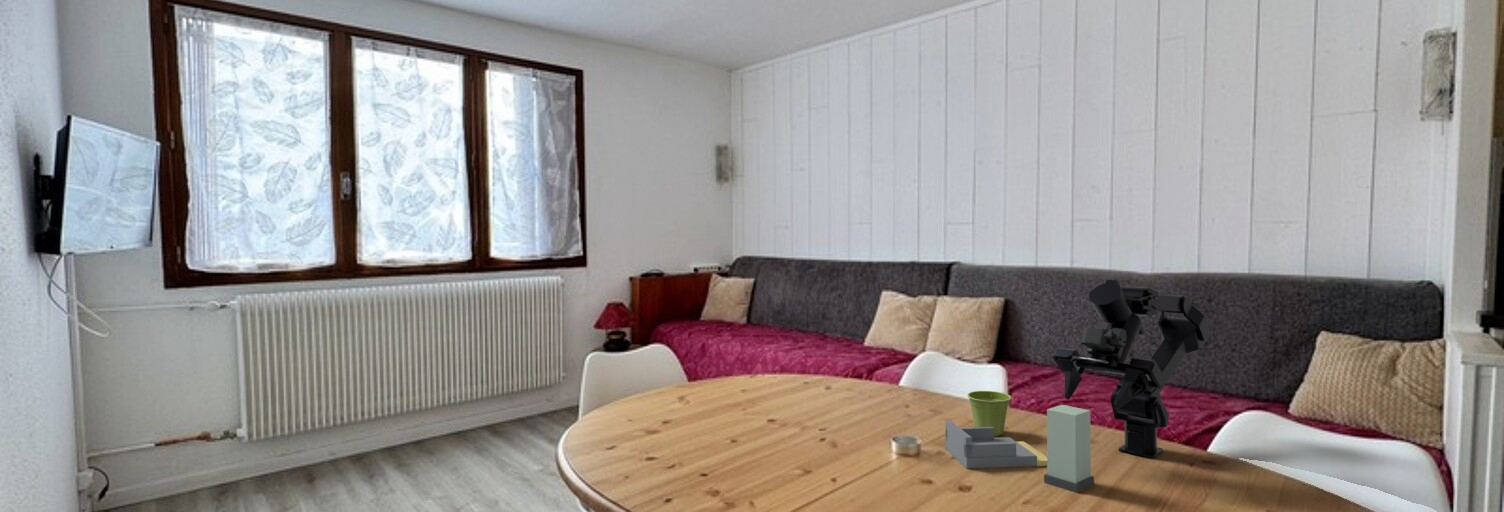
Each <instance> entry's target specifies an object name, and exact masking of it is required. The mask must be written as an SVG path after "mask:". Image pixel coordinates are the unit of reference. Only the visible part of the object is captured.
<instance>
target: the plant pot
mask: <svg viewBox="0 0 1504 512" xmlns="http://www.w3.org/2000/svg"><path fill="white" fill-rule="evenodd" d="M966 394H967V398H968V399H969V403H970V405H971V412H972V419H973V426H974V427H993V428H994V438H997V437H999V436H1003V435H1004V431H1005V425H1006V419H1007V418H1006V417H1007V413H1008V406H1009V405H1010V401H1011V400H1012V396H1011V395H1009V394H1007V393H1004V392H999V391H996V390H995V391H992V390H975V391H970V392H968V393H966Z"/></svg>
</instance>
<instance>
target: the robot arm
mask: <svg viewBox="0 0 1504 512" xmlns="http://www.w3.org/2000/svg"><path fill="white" fill-rule="evenodd" d="M1088 299H1089V301H1090V303H1091V304H1092V306H1093V308H1094V309H1095V311H1096V313H1097V314H1098V317H1099V318H1100V320H1102V321H1103V322H1104V323H1106V325H1105V327H1104V328H1096V327H1083V332H1082V333H1081V334H1082V335H1081V340H1080V345H1083V346H1086V347H1087V349H1086V352H1087V354H1089V355H1091V357H1084V356H1081V355H1080V352H1079V351H1078V349H1072V348H1065V347H1058V348H1056V350H1055V349H1054V353H1053V355H1052V357H1051V358H1053V360H1054V362H1055V363H1056V365H1057V366H1058V368H1059V370H1060V371H1061V372H1062V373H1064V398H1065V399H1066V400H1070V399H1071V398H1072V396H1073V395H1074V393H1075V391H1076V390H1077V387H1078V386H1079V384H1080V383H1081V381H1082V380H1083V377H1082V375H1083V374H1084V372H1085V370H1086V369H1088V370H1096V371H1103V372H1106V373H1113V374H1119V375H1123V376H1122V378H1120V379H1121V380H1120V381H1119V382H1118V383H1117V384H1116V386H1115V387H1116V388H1115V389H1114V390H1113V392H1112V393H1111V395H1110V405H1111V409H1112V413H1113V417H1114V419H1113V420H1120V421H1124V444H1123V445H1121V446H1119V447H1118V451H1120V452H1122V453H1123V452H1124V453H1128V454H1132V455H1137V456H1142V457H1147V458H1152V459H1153V458H1156V457H1158V456H1159V455H1160V454H1161V453H1163V452H1164V448H1162V447H1158V429H1159V428H1167V427H1168V423H1169V416H1170V414H1169V412H1168V409H1167V408H1166V406H1165V405H1164V403H1163V399H1162V395H1161V392H1162V391H1163V388H1164V387H1165V385H1166V384H1167V382H1168V381H1169V380H1170V378H1171V377H1172V375H1173V374H1174V372H1175V371H1176V369H1177V368H1178V366H1179V365H1180V363H1181V362H1182V360H1183V359H1184V357H1185V356H1186V355H1187V354H1190V353H1193V352H1196V351H1199V350H1200V349H1201V348H1202V347H1203V346H1204V345H1205V344H1206V342H1208V341H1209V339H1210V333H1211V330H1210V327H1209V324H1208V321H1207V319H1206V317H1205V315H1204V314H1203V313H1202V312H1201V311H1200V310H1199V309H1197V308H1196V307H1195V306H1194V304H1193V303H1192V302H1191V299H1190V297H1189V296H1186V295H1184V294H1161V293H1159V291H1158V290H1157V289H1154V288H1152V287H1142V286H1126V285H1125V286H1122V285H1120V282H1119V280H1118V279H1106V280H1105V283H1101V284H1099V285H1097V286H1095V287H1094V288H1093V289H1091V290H1090V292H1089V295H1088ZM1159 312H1161V316H1160V317H1159V320H1158V322H1157V324H1158V328H1159V330H1160V332H1161V336H1162V341H1161V342H1160V343H1159V346H1157V348H1156V349H1155V351H1154V352H1153V354H1152V355H1151V356H1150V358H1144V357H1143V358H1142V357H1133V356H1134V355H1135V351H1134V349H1133V347H1134V344H1135V342H1136V340H1137V338H1138V335H1139V336H1140V335H1142V336H1144V334H1145V331H1144V327H1143V322H1142V320H1141V319H1140V317H1139V316H1142V317H1152V316H1154V315H1157V314H1158V313H1159ZM1168 313H1171V314H1183V316H1184V318H1183V317H1182V318H1180V317H1168V316H1167V314H1168ZM1129 357H1131V359H1130V361H1129V363H1127V362H1128V360H1129Z"/></svg>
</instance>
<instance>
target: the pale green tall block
mask: <svg viewBox="0 0 1504 512" xmlns="http://www.w3.org/2000/svg"><path fill="white" fill-rule="evenodd" d="M1046 442H1047V443H1046V445H1047V446H1046V447H1047V448H1046V455H1047V456H1046V457H1047V466H1046V467H1047V472H1046V473H1044V475H1043V482H1044V484H1046V485H1050V486H1053V487H1057V488H1060V489H1063V490H1066V491H1069V492H1073V493H1080V492H1082V491H1084V490H1086V489H1089V488H1090V487H1092V486H1095V476H1094V475H1092V474H1091V472H1092V470H1091V469H1092V468H1091V464H1092V463H1091V460H1092V459H1091V449H1092V448H1091V409H1085V408H1079V407H1074V406H1070V405H1066V404H1061V405H1057V406H1053V407H1050V408H1047V409H1046Z"/></svg>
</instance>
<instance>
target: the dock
mask: <svg viewBox="0 0 1504 512" xmlns="http://www.w3.org/2000/svg"><path fill="white" fill-rule="evenodd" d="M944 441H945V444H944V445H945V450H946V451H947V452H949V454H950V455H952V456H953V458H954V459H956V460H957V461H958V463H960V464H961V465H962V466H963V467H965V468H966V469H967V470H968V469H969V470H970V469H996V468H997V469H998V468H1022V467H1023V468H1025V467H1047V456H1045V454H1043V453H1041V452H1040V451H1038V450H1037V449H1036V448H1034V447H1033V446H1031V445H1030V444H1028V443H1026V442H1025V441H1016V440H1014V439H1013V438H1011V436H1009V437H1008V436H1006V437H1005V436H1004V437H994V428H993V427H975V426H974V427H973V426H970V427H969V426H967V427H960V426H958V425H957V424H955V423H954V422H953V421H952V420H946V421H945V440H944Z"/></svg>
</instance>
